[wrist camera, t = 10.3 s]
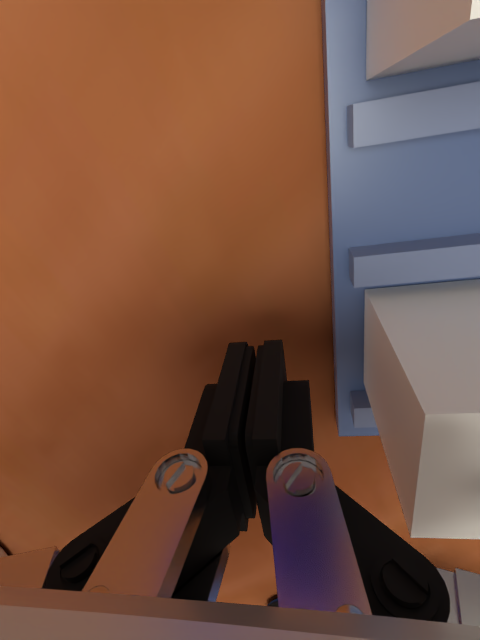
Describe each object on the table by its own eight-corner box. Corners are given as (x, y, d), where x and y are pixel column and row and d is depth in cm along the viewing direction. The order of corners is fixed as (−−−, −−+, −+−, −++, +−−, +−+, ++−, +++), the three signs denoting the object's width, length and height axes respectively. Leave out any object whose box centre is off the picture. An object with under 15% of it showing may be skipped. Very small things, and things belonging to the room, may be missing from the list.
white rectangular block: (475, 377, 13) (630, 582, 7) (363, 382, 14) (421, 573, 8) (494, 277, 11) (724, 443, 5) (364, 289, 12) (441, 447, 6)
